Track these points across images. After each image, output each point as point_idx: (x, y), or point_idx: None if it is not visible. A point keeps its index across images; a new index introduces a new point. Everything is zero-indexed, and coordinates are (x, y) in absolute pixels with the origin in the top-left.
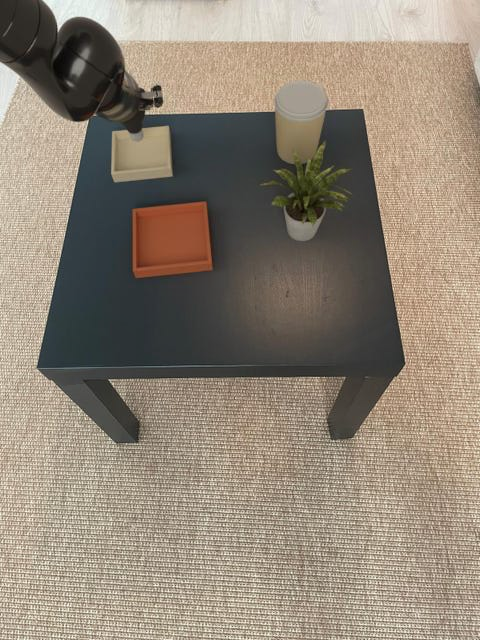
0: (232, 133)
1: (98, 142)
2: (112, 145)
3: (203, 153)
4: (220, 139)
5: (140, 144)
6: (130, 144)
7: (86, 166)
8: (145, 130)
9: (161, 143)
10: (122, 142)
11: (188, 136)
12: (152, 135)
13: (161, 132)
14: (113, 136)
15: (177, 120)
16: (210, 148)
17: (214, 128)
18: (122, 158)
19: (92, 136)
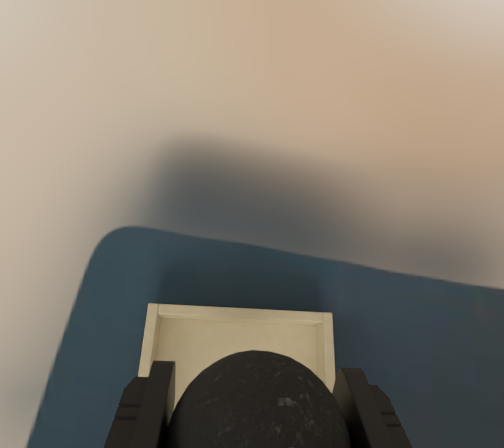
0: (497, 346)
1: (100, 307)
2: (140, 374)
3: (422, 419)
4: (466, 365)
5: (231, 350)
6: (200, 344)
7: (41, 414)
8: (257, 318)
9: (297, 359)
10: (175, 330)
11: (373, 334)
12: (272, 323)
13: (303, 323)
14: (149, 329)
15: (340, 263)
16: (441, 400)
17: (445, 315)
18: None
19: (86, 277)
